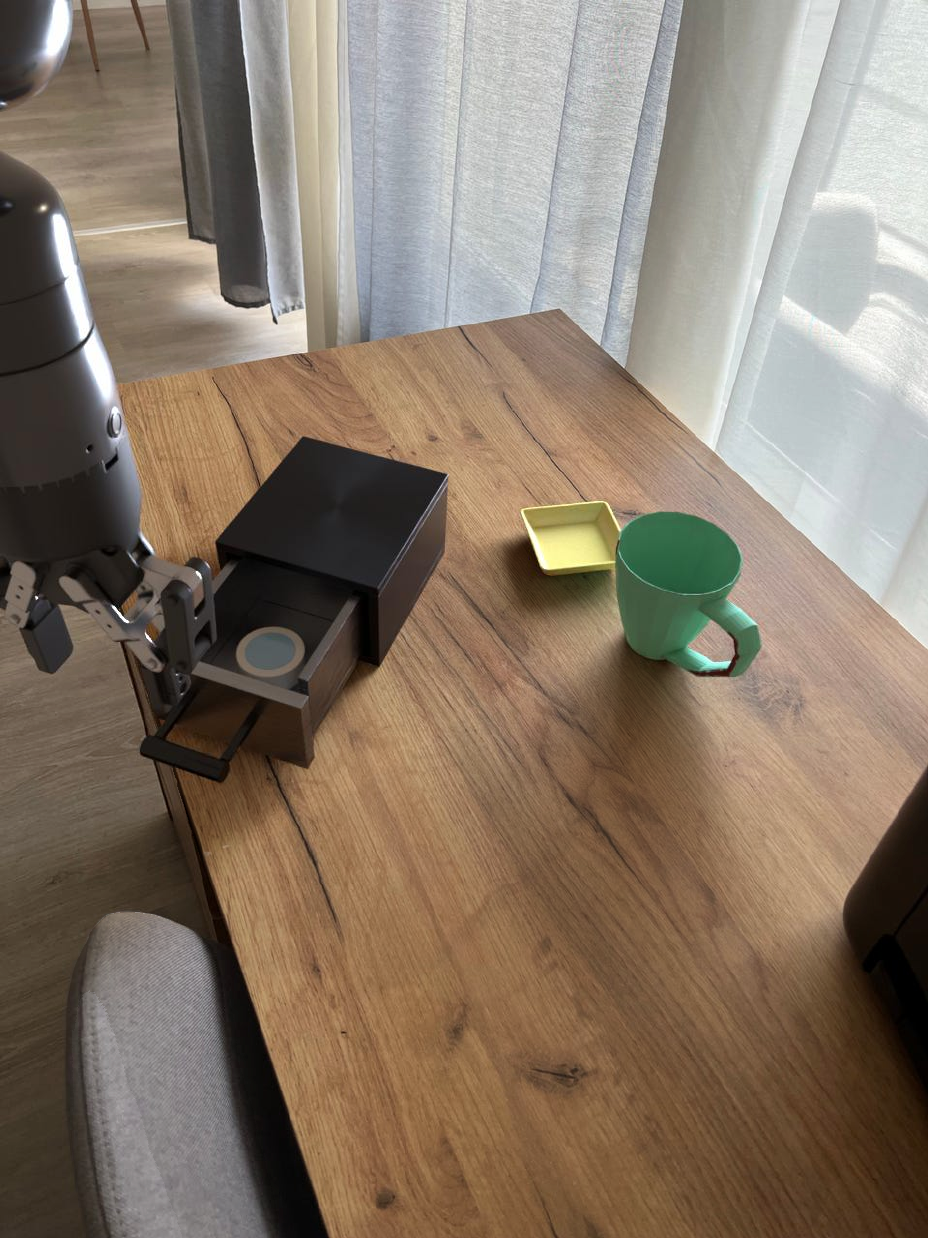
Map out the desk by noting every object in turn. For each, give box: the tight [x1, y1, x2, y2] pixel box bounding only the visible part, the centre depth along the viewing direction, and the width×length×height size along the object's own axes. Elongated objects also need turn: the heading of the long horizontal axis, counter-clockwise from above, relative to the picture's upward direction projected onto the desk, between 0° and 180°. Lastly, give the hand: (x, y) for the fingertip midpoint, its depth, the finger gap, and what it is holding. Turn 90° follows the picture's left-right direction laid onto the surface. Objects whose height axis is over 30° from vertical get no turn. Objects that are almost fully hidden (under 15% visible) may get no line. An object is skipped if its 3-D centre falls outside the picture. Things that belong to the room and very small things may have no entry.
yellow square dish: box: [519, 500, 622, 577], centre depth 88 cm, size 9×9×2 cm
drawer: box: [139, 554, 370, 784], centre depth 71 cm, size 20×12×7 cm, turn 160°
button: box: [236, 627, 306, 690], centre depth 73 cm, size 5×5×2 cm
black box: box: [214, 435, 449, 668], centre depth 81 cm, size 15×14×9 cm
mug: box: [614, 510, 763, 678], centre depth 76 cm, size 15×10×10 cm
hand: (113, 680), depth 53 cm, fingers open, 6 cm apart
